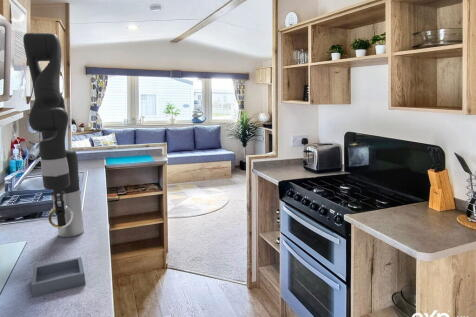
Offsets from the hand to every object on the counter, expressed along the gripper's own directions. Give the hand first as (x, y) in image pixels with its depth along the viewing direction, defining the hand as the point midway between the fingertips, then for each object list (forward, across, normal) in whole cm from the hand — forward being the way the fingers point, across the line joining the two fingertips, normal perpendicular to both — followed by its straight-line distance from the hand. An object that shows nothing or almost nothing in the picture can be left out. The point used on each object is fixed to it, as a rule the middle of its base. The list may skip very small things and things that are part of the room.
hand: (62, 224), depth 114 cm
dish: (+12, +14, -2) cm, 19 cm away
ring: (+1, 0, 0) cm, 1 cm away
